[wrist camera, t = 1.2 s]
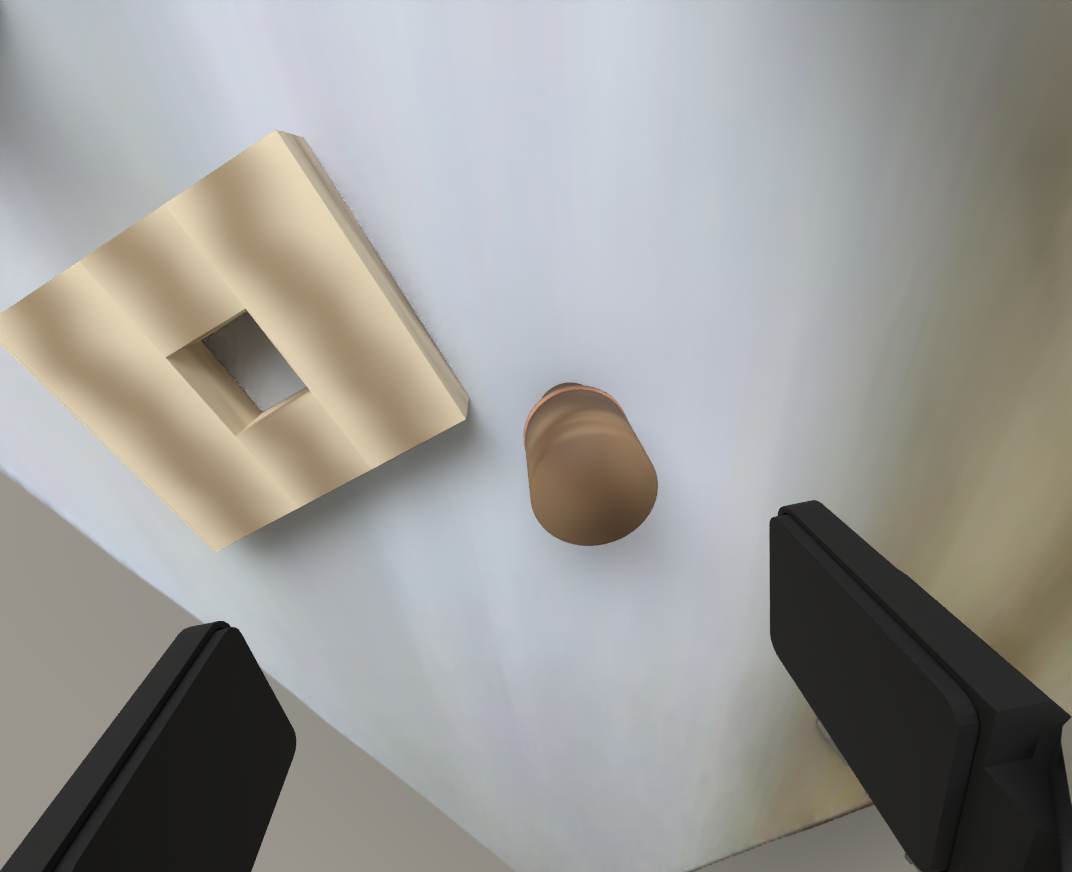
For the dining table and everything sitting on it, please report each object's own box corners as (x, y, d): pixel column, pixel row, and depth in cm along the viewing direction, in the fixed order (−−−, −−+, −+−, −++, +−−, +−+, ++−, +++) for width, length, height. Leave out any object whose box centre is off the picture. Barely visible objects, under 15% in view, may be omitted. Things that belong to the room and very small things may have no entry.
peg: (590, 349, 32) (627, 411, 23) (630, 428, 34) (677, 512, 25) (504, 395, 32) (505, 472, 23) (548, 469, 35) (565, 565, 26)
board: (303, 137, 26) (275, 129, 23) (469, 397, 32) (465, 419, 29) (39, 311, 29) (-18, 326, 25) (240, 519, 35) (215, 552, 32)
